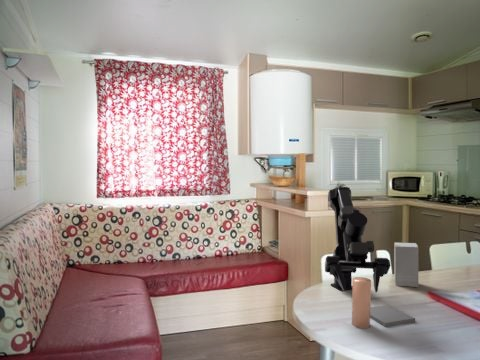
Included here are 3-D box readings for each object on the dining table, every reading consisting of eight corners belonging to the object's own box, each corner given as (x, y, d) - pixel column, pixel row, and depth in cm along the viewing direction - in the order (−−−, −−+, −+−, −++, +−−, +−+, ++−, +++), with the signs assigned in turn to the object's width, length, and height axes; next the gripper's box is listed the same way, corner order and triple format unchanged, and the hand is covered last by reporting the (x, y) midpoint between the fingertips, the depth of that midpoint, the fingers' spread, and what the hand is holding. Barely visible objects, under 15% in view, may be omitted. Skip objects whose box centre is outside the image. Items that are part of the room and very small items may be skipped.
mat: (360, 311, 116) (360, 308, 115) (388, 307, 119) (388, 304, 119) (384, 326, 105) (384, 323, 105) (415, 321, 109) (415, 318, 109)
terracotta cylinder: (348, 321, 108) (349, 278, 108) (362, 319, 110) (363, 276, 109) (359, 329, 103) (360, 283, 103) (373, 326, 105) (374, 281, 105)
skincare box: (416, 282, 144) (417, 242, 143) (418, 288, 137) (419, 246, 137) (392, 280, 147) (394, 241, 146) (394, 286, 140) (395, 244, 139)
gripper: (326, 230, 114) (330, 276, 103) (389, 231, 111) (400, 279, 101) (323, 249, 122) (326, 294, 111) (382, 251, 120) (391, 297, 109)
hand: (360, 291), depth 108 cm, fingers open, 9 cm apart
